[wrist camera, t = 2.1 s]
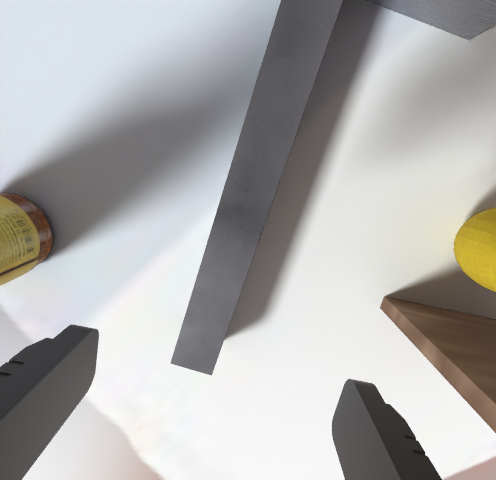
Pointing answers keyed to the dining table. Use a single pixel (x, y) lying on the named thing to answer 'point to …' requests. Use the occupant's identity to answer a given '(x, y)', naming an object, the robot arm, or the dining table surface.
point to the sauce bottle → (21, 236)
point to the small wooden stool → (453, 349)
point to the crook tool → (280, 154)
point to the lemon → (478, 248)
